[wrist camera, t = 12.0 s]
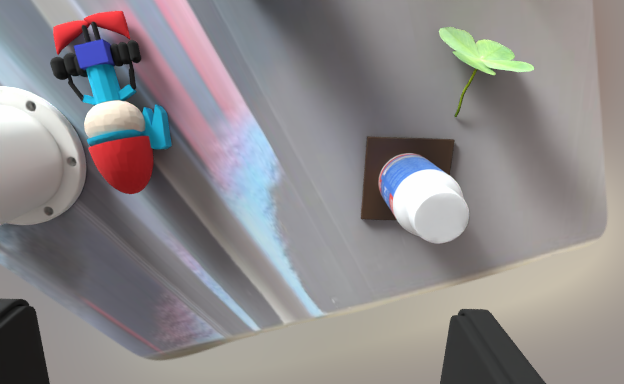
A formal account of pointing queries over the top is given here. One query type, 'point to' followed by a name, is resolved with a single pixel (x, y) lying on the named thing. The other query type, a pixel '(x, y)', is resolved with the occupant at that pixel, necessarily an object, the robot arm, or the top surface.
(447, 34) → the green leafy piece
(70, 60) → the toy figure
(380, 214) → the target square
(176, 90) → the top surface
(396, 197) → the pill bottle
